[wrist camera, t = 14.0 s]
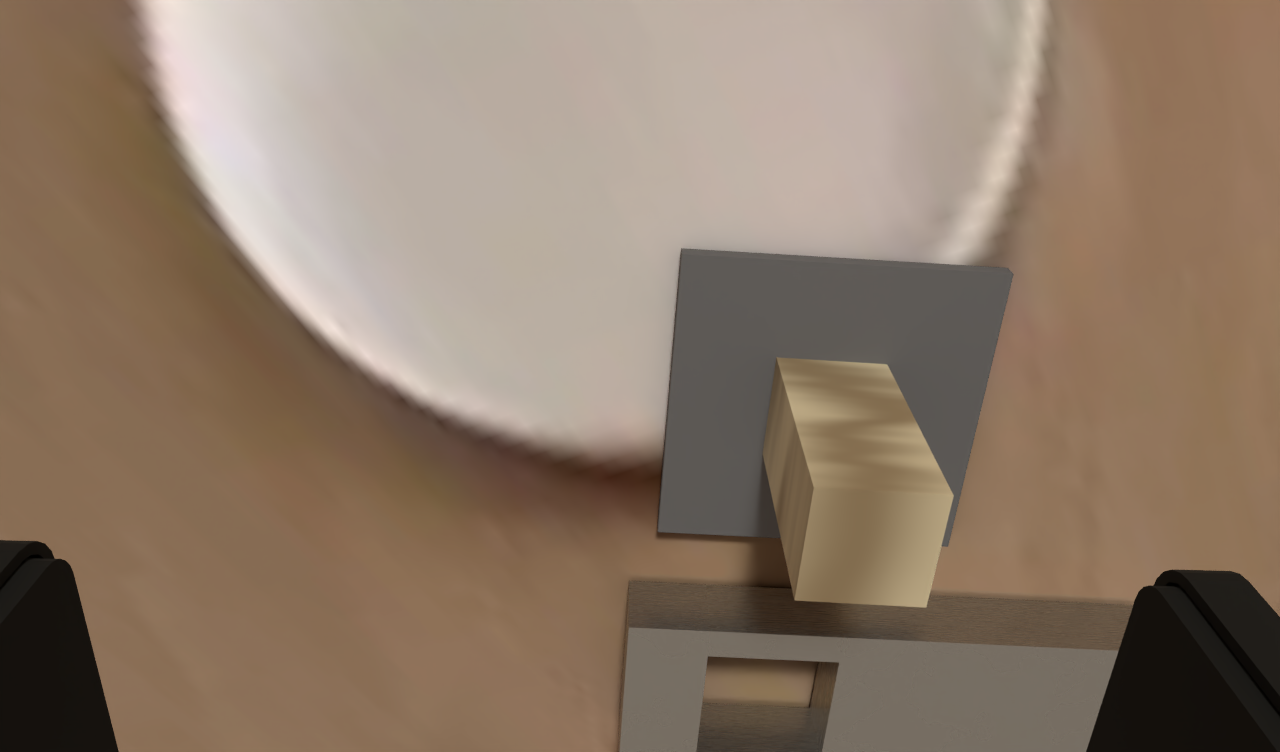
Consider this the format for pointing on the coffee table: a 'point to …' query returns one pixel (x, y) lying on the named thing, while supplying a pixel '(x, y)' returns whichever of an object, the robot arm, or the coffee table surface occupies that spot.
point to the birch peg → (853, 485)
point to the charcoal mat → (817, 330)
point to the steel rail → (867, 672)
